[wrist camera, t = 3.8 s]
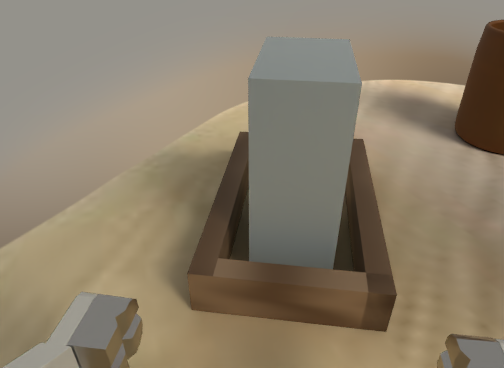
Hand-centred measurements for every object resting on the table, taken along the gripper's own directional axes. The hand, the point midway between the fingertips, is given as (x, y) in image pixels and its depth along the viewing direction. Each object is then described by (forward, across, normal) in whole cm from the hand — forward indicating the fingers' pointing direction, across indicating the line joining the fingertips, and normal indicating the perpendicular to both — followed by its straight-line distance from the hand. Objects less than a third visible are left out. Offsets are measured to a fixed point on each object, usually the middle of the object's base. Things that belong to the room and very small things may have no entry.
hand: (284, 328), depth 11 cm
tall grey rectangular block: (+12, 0, +7) cm, 14 cm away
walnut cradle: (+13, 0, +7) cm, 15 cm away
